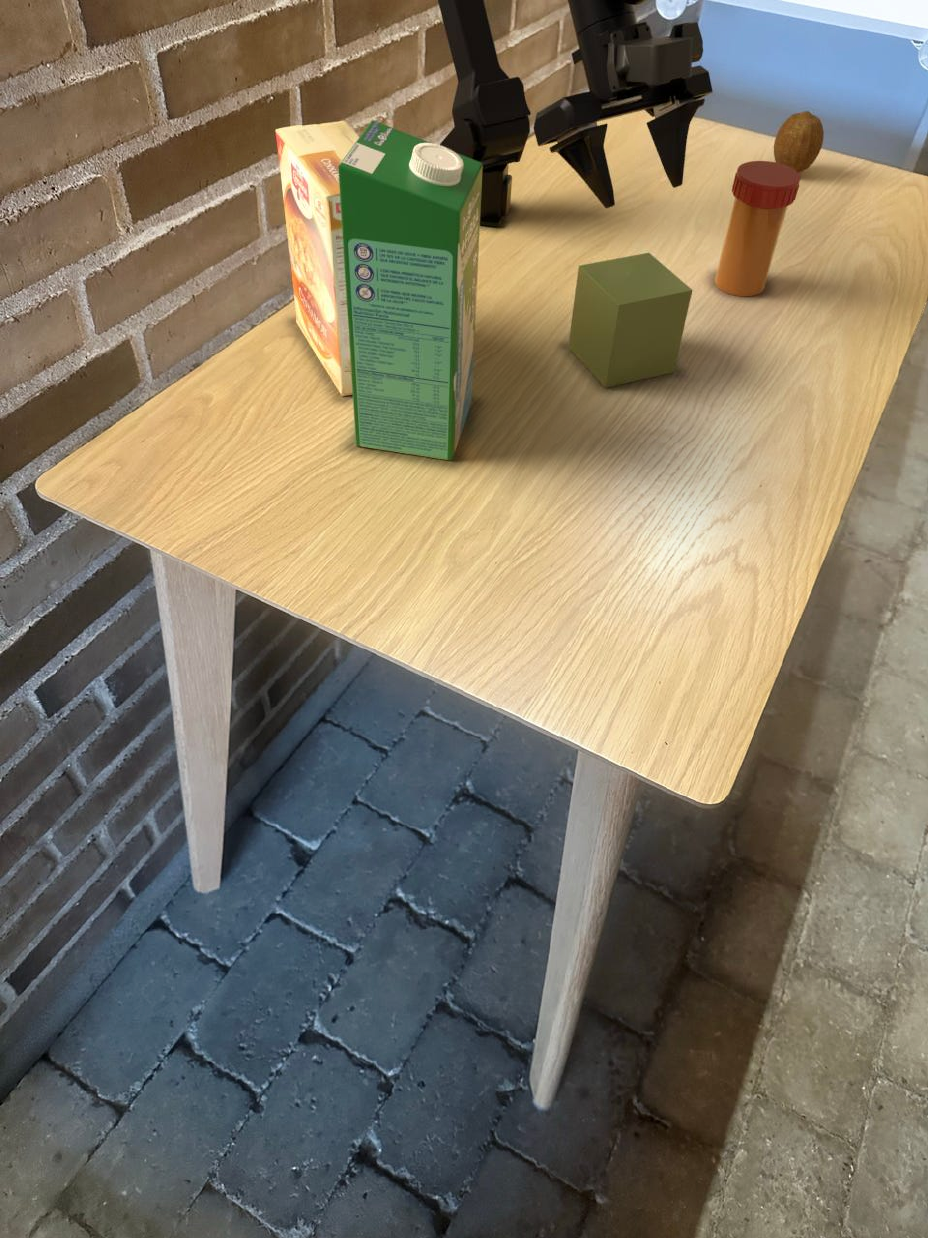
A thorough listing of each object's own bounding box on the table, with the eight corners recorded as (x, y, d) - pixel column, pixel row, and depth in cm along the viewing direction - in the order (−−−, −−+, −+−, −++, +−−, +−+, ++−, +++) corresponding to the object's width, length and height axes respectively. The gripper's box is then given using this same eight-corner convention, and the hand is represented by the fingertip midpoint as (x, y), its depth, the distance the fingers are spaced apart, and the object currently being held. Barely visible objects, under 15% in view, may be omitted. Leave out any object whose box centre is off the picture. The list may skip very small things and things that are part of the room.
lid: (729, 203, 99) (734, 181, 97) (733, 178, 103) (738, 156, 102) (794, 212, 98) (800, 190, 96) (795, 186, 102) (801, 165, 101)
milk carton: (452, 461, 84) (460, 178, 66) (355, 446, 85) (337, 163, 67) (471, 404, 90) (484, 130, 72) (380, 391, 91) (370, 117, 73)
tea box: (567, 347, 98) (578, 265, 91) (634, 333, 100) (649, 252, 93) (605, 388, 93) (619, 304, 86) (674, 372, 95) (692, 289, 89)
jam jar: (713, 291, 107) (739, 184, 98) (716, 269, 110) (742, 164, 101) (762, 299, 106) (793, 192, 97) (764, 276, 110) (794, 171, 101)
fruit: (812, 167, 131) (831, 105, 125) (812, 185, 127) (831, 122, 121) (767, 161, 132) (783, 99, 126) (766, 179, 128) (782, 116, 122)
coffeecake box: (294, 322, 99) (272, 127, 85) (357, 310, 101) (347, 117, 87) (339, 398, 90) (324, 194, 76) (408, 383, 92) (406, 182, 78)
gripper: (581, 3, 79) (627, 196, 83) (736, -26, 86) (770, 153, 91) (510, 54, 88) (555, 225, 93) (655, 24, 96) (689, 184, 101)
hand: (644, 196), depth 94 cm, fingers open, 9 cm apart
